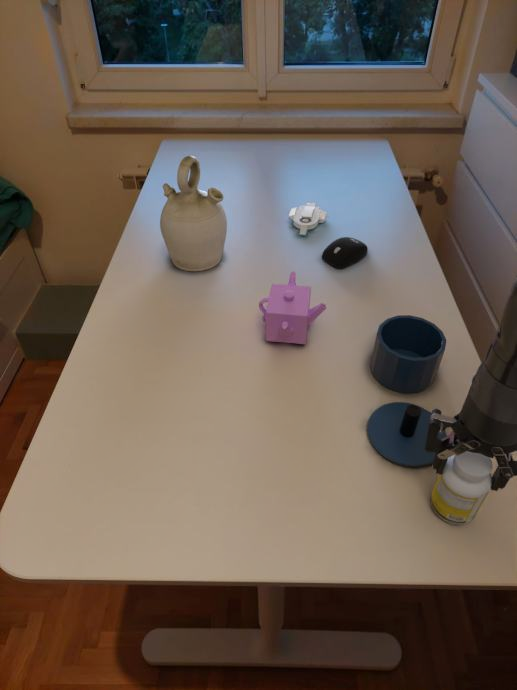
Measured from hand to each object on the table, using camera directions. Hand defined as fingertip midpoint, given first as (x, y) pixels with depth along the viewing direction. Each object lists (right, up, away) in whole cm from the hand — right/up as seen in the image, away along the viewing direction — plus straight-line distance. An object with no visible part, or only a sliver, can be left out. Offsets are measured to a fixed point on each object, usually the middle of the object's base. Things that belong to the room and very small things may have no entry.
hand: (466, 476), depth 68 cm
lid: (-4, +3, +15) cm, 16 cm away
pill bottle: (0, -6, +5) cm, 8 cm away
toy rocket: (-15, +51, +67) cm, 86 cm away
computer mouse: (-7, +39, +55) cm, 68 cm away
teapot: (-22, +20, +35) cm, 46 cm away
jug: (-43, +39, +55) cm, 80 cm away
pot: (-1, +13, +26) cm, 29 cm away
